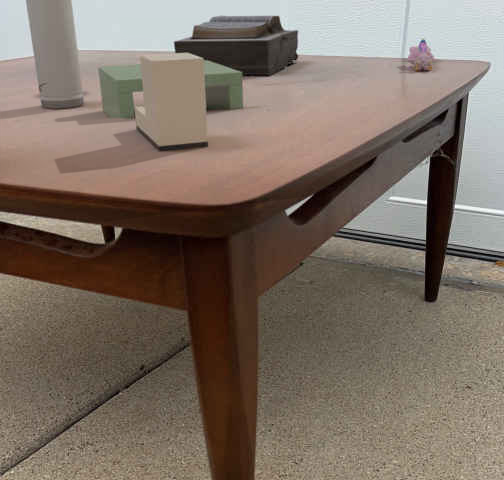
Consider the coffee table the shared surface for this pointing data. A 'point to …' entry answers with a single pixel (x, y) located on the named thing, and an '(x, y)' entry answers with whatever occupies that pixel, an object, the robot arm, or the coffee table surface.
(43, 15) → the travel mug
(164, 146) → the beige dark-bottomed block
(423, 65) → the rabbit figure
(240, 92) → the shoe shelf
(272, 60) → the bible
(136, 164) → the coffee table surface
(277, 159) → the coffee table surface
